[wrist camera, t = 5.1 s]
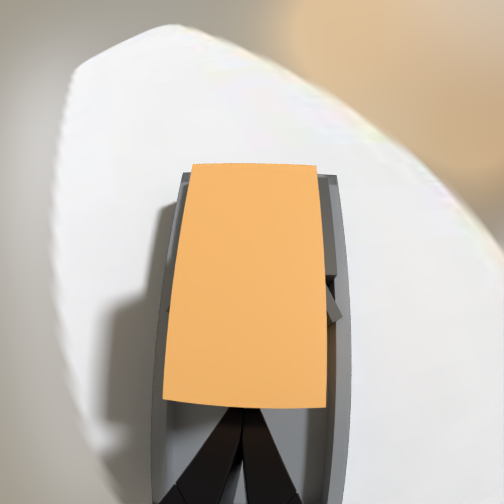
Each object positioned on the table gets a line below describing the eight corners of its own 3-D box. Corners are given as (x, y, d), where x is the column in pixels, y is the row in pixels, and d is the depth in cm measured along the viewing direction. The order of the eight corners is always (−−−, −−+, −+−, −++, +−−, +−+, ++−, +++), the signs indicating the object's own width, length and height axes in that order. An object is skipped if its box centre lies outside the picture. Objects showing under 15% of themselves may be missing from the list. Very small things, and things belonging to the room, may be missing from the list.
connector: (293, 390, 14) (325, 407, 7) (210, 387, 14) (162, 399, 7) (293, 216, 18) (310, 121, 11) (223, 215, 19) (202, 120, 11)
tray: (329, 504, 12) (342, 526, 9) (166, 496, 12) (148, 516, 9) (329, 196, 20) (338, 168, 17) (190, 193, 21) (180, 165, 18)
